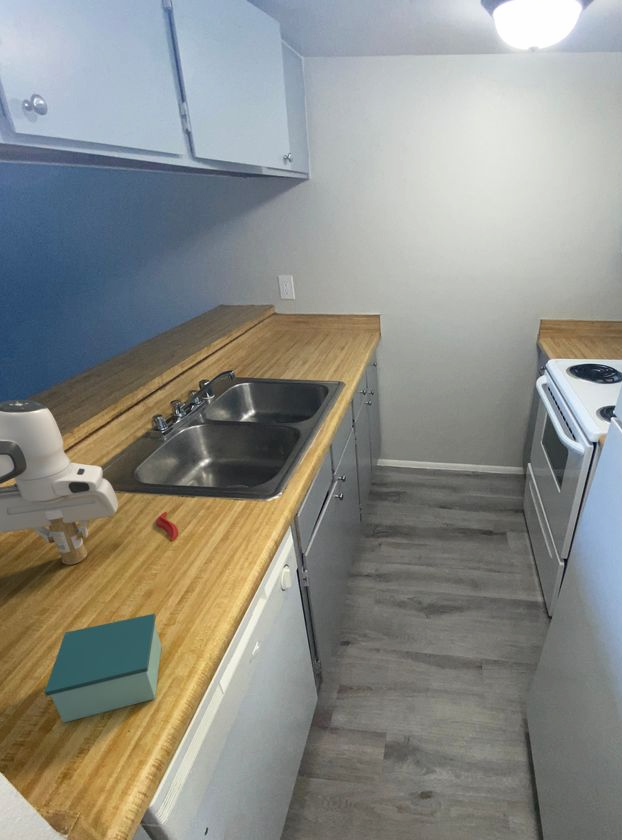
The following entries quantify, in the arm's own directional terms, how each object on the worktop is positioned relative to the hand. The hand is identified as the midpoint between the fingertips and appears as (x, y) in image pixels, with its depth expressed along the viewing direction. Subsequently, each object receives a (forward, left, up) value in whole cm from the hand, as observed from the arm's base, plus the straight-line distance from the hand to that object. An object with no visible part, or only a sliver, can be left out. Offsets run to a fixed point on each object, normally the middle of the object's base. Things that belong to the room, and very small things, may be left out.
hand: (68, 538), depth 96 cm
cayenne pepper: (+17, +6, -5) cm, 19 cm away
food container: (+13, -34, -5) cm, 37 cm away
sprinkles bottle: (0, 0, -5) cm, 5 cm away
